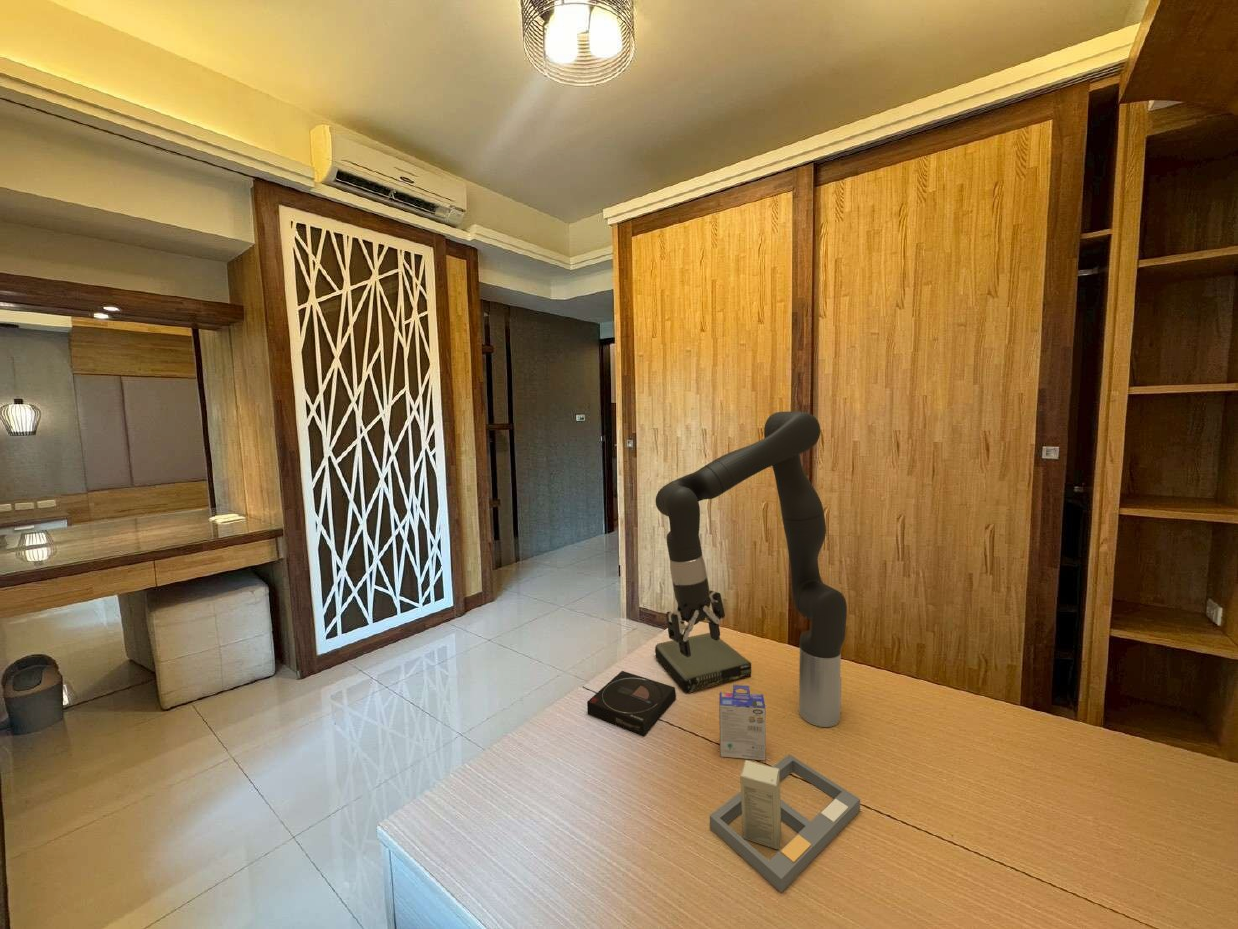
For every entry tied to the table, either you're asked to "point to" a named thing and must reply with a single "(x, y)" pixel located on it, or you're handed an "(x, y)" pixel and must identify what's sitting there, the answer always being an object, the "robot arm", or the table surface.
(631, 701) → the portable cd player
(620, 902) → the table surface
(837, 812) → the grey divided frame
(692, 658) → the network switch
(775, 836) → the skincare box
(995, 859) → the table surface
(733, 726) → the ink cartridge box
